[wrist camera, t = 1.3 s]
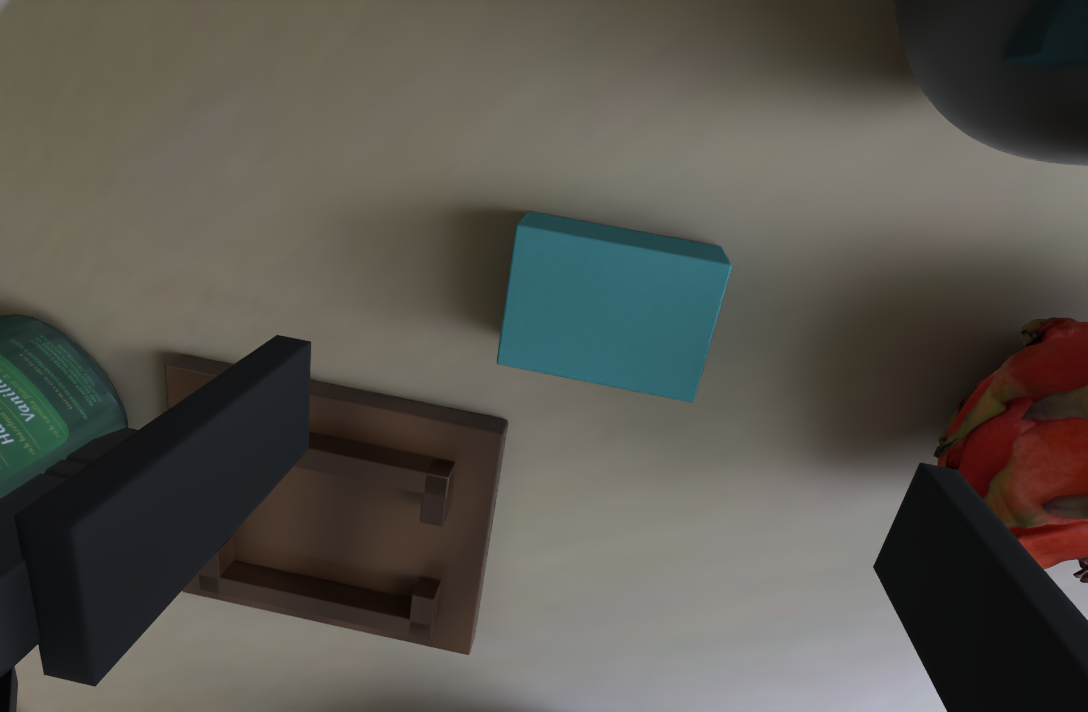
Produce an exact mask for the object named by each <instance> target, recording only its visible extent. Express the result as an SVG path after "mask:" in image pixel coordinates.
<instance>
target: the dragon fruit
mask: <svg viewBox="0 0 1088 712" xmlns="http://www.w3.org/2000/svg"><path fill="white" fill-rule="evenodd" d="M1020 333H1022V334H1023V345H1024V346H1029V347H1026V348H1024V349H1023V350H1021V351H1020V352H1018V353H1015V354H1013V355H1012V356H1010V357H1009V358H1008V359H1007V360H1006V361H1005V362H1004V364H1003V365H1002V366H1001V368H999V369H998V370H996V371H995V372H994V373H993V374H991V375H990V376H989V377H988V378H986V379H984V380H982V381H980V382H979V383H978V384H977V386H976V388H975V389H974V391H973V392H972V394H971V395H968V394H965V395H964V396H963V397H962V398H961V400H960V401H959V403H958V406H957V409H956V411H955V412H954V414H953V415H952V417H951V419H950V421H949V423H948V426H947V428H946V430H945V432H944V433H943V435H942V436H941V437H940V438H939V440H938V442H939V444H940V445H939V446H937V448H936V450H935V453H934V457H935V456H936V457H937V458H939V459H938V464H937V466H940V467H945V468H950V469H955V470H958V471H959V472H960V474H961V475H962V476H963V477H964V478H965V479H966V481H967V482H968V483H969V484H970V485H971V486H972V488H973V489H974V490H975V491H976V492H977V493H978V494H979V496H980V497H981V498H982V499H983V500H984V501H985V503H986V504H987V505H988V506H989V507H990V508H991V509H992V511H993V512H994V513H995V514H996V515H997V516H998V518H999V519H1000V520H1001V521H1002V522H1003V523H1004V524H1005V526H1006V527H1007V528H1008V529H1009V530H1010V531H1011V533H1012V534H1013V535H1014V536H1015V537H1016V538H1017V539H1018V541H1019V542H1020V543H1021V544H1022V545H1023V546H1024V548H1025V549H1026V550H1027V551H1028V552H1029V553H1030V554H1031V556H1032V557H1033V558H1034V559H1035V560H1036V561H1037V563H1038V564H1039V565H1040V566H1041V567H1042V568H1043V569H1047V568H1050V567H1052V566H1054V565H1056V564H1058V563H1060V562H1063V561H1067V560H1075V559H1077V560H1079V564H1080V567H1081V568H1083V569H1082V570H1080V571H1078V572H1076V573H1074V574H1073V575H1074V576H1075V577H1076V578H1081V579H1080V581H1081V582H1083V583H1088V322H1078V321H1075V320H1073V319H1070V318H1049V319H1035V320H1033V321H1031V322H1029V323H1028V324H1026V325H1025V326H1024V327H1023V328H1022V329H1021V331H1020Z"/></svg>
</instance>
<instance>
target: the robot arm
mask: <svg viewBox="0 0 1088 712" xmlns="http://www.w3.org/2000/svg"><path fill="white" fill-rule="evenodd" d="M310 360H311V342H310V341H305V340H300V339H295V338H290V337H285V336H280V335H276V336H275V337H274V338H272V339H271V340H269V341H268V342H266V343H265V344H263V345H262V346H260V347H259V348H258V349H256V350H255V351H253V352H252V353H250V354H249V355H247V356H246V357H244V358H243V359H241V360H240V361H239V362H237V363H236V364H234V365H233V366H231V367H230V368H228V369H227V370H225V371H224V372H223V373H221V374H220V375H218V376H217V377H215V378H214V379H212V380H211V381H209V382H208V383H207V384H205V385H204V386H202V387H201V388H199V389H198V390H196V391H195V392H193V393H192V394H190V395H189V396H188V397H186V398H185V399H183V400H182V401H180V402H179V403H177V404H176V405H174V406H173V407H172V408H170V409H169V410H167V411H166V412H164V413H163V414H161V415H160V416H158V417H157V418H155V419H154V420H153V421H151V422H150V423H148V424H147V425H145V426H144V427H142V428H141V429H139V430H135V429H130V428H123V429H120V430H118V431H115V432H112V433H109V434H106V435H104V436H101V437H98V438H95V439H93V440H91V441H89V442H88V443H86V444H85V445H83V446H82V447H80V448H79V449H77V450H76V451H74V452H72V453H71V454H69V455H68V456H67V458H66V460H63V459H62V460H60V461H58V462H57V463H55V464H54V465H52V466H51V467H49V468H48V469H46V471H45V473H44V474H41V473H40V474H38V475H37V476H35V477H34V478H32V479H31V480H29V481H27V482H26V483H24V484H23V485H21V486H20V487H18V488H17V489H15V490H13V491H12V492H10V493H9V494H7V495H6V496H4V497H3V498H1V499H0V712H16V706H17V690H18V680H17V676H16V671H15V665H16V664H17V663H18V662H19V661H20V660H21V659H23V658H24V657H25V656H26V655H27V654H28V653H29V652H30V651H31V650H32V649H33V648H34V647H35V646H36V645H39V650H40V656H41V661H42V666H43V672H44V675H48V676H52V677H57V678H61V679H65V680H70V681H74V682H78V683H83V684H87V685H91V686H96V685H97V684H98V683H99V682H100V681H101V680H102V678H103V677H104V676H105V675H106V674H107V673H108V672H109V671H110V670H111V668H112V667H113V666H114V665H115V664H116V663H117V662H118V661H119V660H120V658H121V657H122V656H123V655H124V654H125V653H126V652H127V651H128V650H129V648H130V647H131V646H132V645H133V644H134V643H135V642H136V641H137V640H138V638H139V637H140V636H141V635H142V634H143V633H144V632H145V631H146V630H147V628H148V627H149V626H150V625H151V624H152V623H153V622H154V621H155V620H156V619H157V617H158V616H159V615H160V614H161V613H162V612H163V611H164V610H165V609H166V607H167V606H168V605H169V604H170V603H171V602H172V601H173V600H174V599H175V597H176V596H177V595H178V594H179V593H180V592H181V591H182V590H183V589H184V587H185V586H186V585H187V584H188V583H189V582H190V581H191V580H192V579H193V577H194V576H195V575H196V574H197V573H198V572H199V571H200V570H201V569H202V567H203V566H204V565H205V564H206V563H207V562H208V561H209V560H210V559H211V557H212V556H213V555H214V554H215V553H216V552H217V551H218V550H219V549H220V548H221V546H222V545H223V544H224V543H225V542H226V541H227V540H228V539H229V538H230V536H231V535H232V534H233V533H234V532H235V531H236V530H237V529H238V528H239V526H240V525H241V524H242V523H243V522H244V521H245V520H246V519H247V518H248V516H249V515H250V514H251V513H252V512H253V511H254V510H255V509H256V508H257V506H258V505H259V504H260V503H261V502H262V501H263V500H264V499H265V498H266V496H267V495H268V494H269V493H270V492H271V491H272V490H273V489H274V488H275V486H276V485H277V484H278V483H279V482H280V481H281V480H282V479H283V478H284V476H285V475H286V474H287V473H288V472H289V471H290V470H291V469H292V468H293V467H294V465H295V464H296V463H297V462H298V461H299V460H300V459H301V458H302V457H303V455H304V454H305V453H306V452H307V451H308V449H309V405H310ZM873 568H874V570H875V572H876V573H877V575H878V577H879V579H880V581H881V583H882V585H883V587H884V589H885V591H886V593H887V595H888V597H889V599H890V601H891V603H892V605H893V607H894V609H895V611H896V613H897V615H898V616H899V618H900V620H901V622H902V624H903V626H904V628H905V630H906V632H907V634H908V636H909V638H910V640H911V642H912V644H913V646H914V648H915V650H916V652H917V654H918V656H919V658H920V659H921V661H922V663H923V665H924V667H925V669H926V671H927V673H928V675H929V677H930V679H931V681H932V683H933V685H934V687H935V689H936V691H937V693H938V695H939V697H940V699H941V701H942V702H943V704H944V706H945V708H946V710H947V712H1088V620H1087V619H1086V618H1085V617H1084V616H1083V615H1082V613H1081V612H1080V611H1079V610H1078V609H1077V608H1076V606H1075V605H1074V604H1073V603H1072V602H1071V601H1070V599H1069V598H1068V597H1067V596H1066V595H1065V594H1064V593H1063V591H1062V590H1061V589H1060V588H1059V587H1058V586H1057V584H1056V583H1055V582H1054V581H1053V580H1052V579H1051V578H1050V576H1049V575H1048V574H1047V573H1046V572H1045V571H1044V569H1043V568H1042V567H1041V566H1040V565H1039V564H1038V563H1037V561H1036V560H1035V559H1034V558H1033V557H1032V556H1031V554H1030V553H1029V552H1028V551H1027V550H1026V549H1025V548H1024V546H1023V545H1022V544H1021V543H1020V542H1019V541H1018V539H1017V538H1016V537H1015V536H1014V535H1013V534H1012V533H1011V531H1010V530H1009V529H1008V528H1007V527H1006V526H1005V524H1004V523H1003V522H1002V521H1001V520H1000V519H999V518H998V516H997V515H996V514H995V513H994V512H993V511H992V509H991V508H990V507H989V506H988V505H987V504H986V503H985V501H984V500H983V499H982V498H981V497H980V496H979V494H978V493H977V492H976V491H975V490H974V489H973V488H972V486H971V485H970V484H969V483H968V482H967V481H966V479H965V478H964V477H963V476H962V475H961V474H960V472H959V471H958V470H955V469H950V468H945V467H940V466H935V465H930V464H925V463H919V466H918V468H917V470H916V472H915V475H914V477H913V479H912V481H911V484H910V486H909V488H908V490H907V492H906V495H905V497H904V499H903V501H902V504H901V506H900V508H899V510H898V513H897V515H896V517H895V519H894V522H893V524H892V526H891V528H890V531H889V533H888V535H887V537H886V539H885V542H884V544H883V546H882V548H881V551H880V553H879V555H878V557H877V560H876V562H875V564H874V566H873Z"/></svg>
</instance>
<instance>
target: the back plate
mask: <svg viewBox="0 0 1088 712" xmlns="http://www.w3.org/2000/svg"><path fill="white" fill-rule="evenodd" d="M231 366H233V365H232V364H227V363H222V362H217V361H212V360H207V359H202V358H197V357H193V356H188V355H181V356H179V357H177V358H176V359H174V360H172V361H171V362H169V363H167V364H166V365H165V377H166V389H167V402H168V410H169V409H170V408H172V407H173V406H174V405H176V404H177V403H179V402H180V401H182V400H183V399H185V398H186V397H188V396H189V395H190V394H192V393H193V392H195V391H196V390H198V389H199V388H201V387H202V386H204V385H205V384H207V383H208V382H209V381H211V380H212V379H214V378H215V377H217V376H218V375H220V374H221V373H223V372H224V371H225V370H227V369H228V368H230V367H231ZM507 427H508V421H507V420H504V419H499V418H494V417H489V416H484V415H479V414H475V413H470V412H465V411H460V410H455V409H450V408H445V407H440V406H435V405H430V404H425V403H420V402H415V401H410V400H405V399H400V398H395V397H390V396H385V395H381V394H376V393H371V392H366V391H361V390H356V389H351V388H346V387H341V386H336V385H331V384H326V383H321V382H316V381H311V380H310V405H309V449H308V451H307V452H306V453H305V454H304V455H303V457H302V458H301V459H300V460H299V461H298V462H297V463H296V464H295V465H294V467H293V468H292V469H291V470H290V471H289V472H288V473H287V474H286V475H285V476H284V478H283V479H282V480H281V481H280V482H279V483H278V484H277V485H276V486H275V488H274V489H273V490H272V491H271V492H270V493H269V494H268V495H267V496H266V498H265V499H264V500H263V501H262V502H261V503H260V504H259V505H258V506H257V508H256V509H255V510H254V511H253V512H252V513H251V514H250V515H249V516H248V518H247V519H246V520H245V521H244V522H243V523H242V524H241V525H240V526H239V528H238V529H237V530H236V531H235V532H234V533H233V534H232V535H231V536H230V538H229V539H228V540H227V541H226V542H225V543H224V544H223V545H222V546H221V548H220V549H219V550H218V551H217V552H216V553H215V554H214V555H213V556H212V557H211V559H210V560H209V561H208V562H207V563H206V564H205V565H204V566H203V567H202V569H201V570H200V571H199V572H198V573H197V574H196V575H195V576H194V577H193V579H192V580H191V581H190V582H189V583H188V584H187V585H186V586H185V587H184V589H183V590H182V591H183V592H186V593H190V594H195V595H199V596H204V597H208V598H213V599H217V600H222V601H227V602H231V603H236V604H240V605H245V606H249V607H254V608H258V609H263V610H267V611H272V612H276V613H281V614H285V615H290V616H294V617H299V618H303V619H308V620H312V621H317V622H321V623H326V624H330V625H335V626H339V627H344V628H348V629H353V630H357V631H362V632H366V633H371V634H375V635H380V636H384V637H389V638H393V639H398V640H402V641H407V642H412V643H416V644H421V645H425V646H430V647H434V648H439V649H443V650H448V651H452V652H457V653H461V654H466V655H469V654H470V651H471V648H472V644H473V640H474V637H475V631H476V625H477V618H478V612H479V606H480V599H481V593H482V586H483V580H484V574H485V567H486V561H487V555H488V548H489V542H490V535H491V529H492V523H493V516H494V510H495V504H496V497H497V491H498V484H499V478H500V472H501V465H502V459H503V453H504V446H505V440H506V433H507Z"/></svg>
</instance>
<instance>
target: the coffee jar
mask: <svg viewBox="0 0 1088 712" xmlns="http://www.w3.org/2000/svg"><path fill="white" fill-rule="evenodd" d="M123 428H128V422H127V417H126V414H125V410H124V408H123V405H122V404H121V402H120V400H119V398H118V396H117V394H116V392H115V389H114V387H113V385H112V384H111V383H110V381H109V380H108V379H107V377H106V375H105V374H104V372H103V371H102V370H101V369H100V367H99V366H98V364H97V363H96V362H95V361H94V360H93V359H91V358H90V356H89V355H88V354H87V353H86V352H85V351H84V350H83V349H82V348H81V347H80V346H79V345H78V344H76V343H75V342H73V341H72V340H70V339H69V338H68V337H67V336H66V335H64V334H63V333H62V332H60V331H59V330H58V329H56V328H55V327H53V326H51V325H49V324H47V323H45V322H43V321H41V320H39V319H36V318H34V317H29V316H24V315H5V316H0V499H1V498H3V497H4V496H6V495H7V494H9V493H10V492H12V491H13V490H15V489H17V488H18V487H20V486H21V485H23V484H24V483H26V482H27V481H29V480H31V479H32V478H34V477H35V476H37V475H38V474H40V473H41V474H44V473H45V471H46V469H48V468H49V467H51V466H52V465H54V464H55V463H57V462H58V461H60V460H62V459H63V460H66V458H67V456H68V455H69V454H71V453H72V452H74V451H76V450H77V449H79V448H80V447H82V446H83V445H85V444H86V443H88V442H89V441H91V440H93V439H95V438H98V437H101V436H104V435H106V434H109V433H112V432H115V431H118V430H120V429H123Z"/></svg>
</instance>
